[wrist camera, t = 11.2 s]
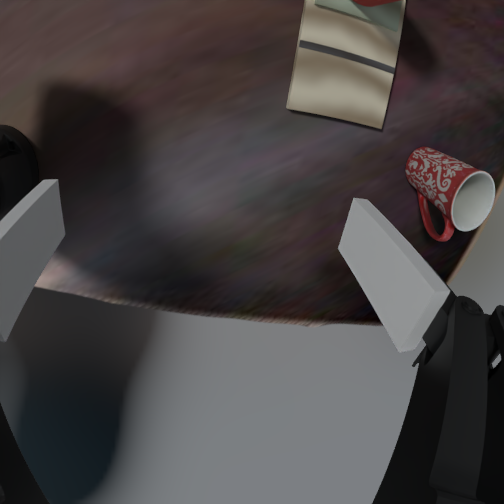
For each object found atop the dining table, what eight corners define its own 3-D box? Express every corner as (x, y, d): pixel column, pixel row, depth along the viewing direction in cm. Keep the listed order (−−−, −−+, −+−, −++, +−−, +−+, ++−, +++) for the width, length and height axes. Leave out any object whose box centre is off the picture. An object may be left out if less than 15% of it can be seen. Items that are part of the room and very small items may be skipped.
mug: (413, 131, 41) (471, 161, 30) (449, 152, 43) (503, 184, 32) (382, 201, 47) (428, 247, 36) (419, 215, 49) (464, 258, 38)
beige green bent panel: (378, 127, 40) (392, 134, 37) (286, 107, 37) (293, 112, 34) (405, -26, 26) (420, -30, 23) (314, -60, 24) (324, -70, 20)
